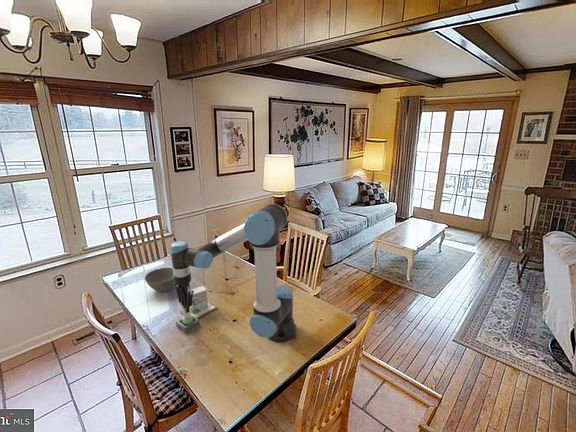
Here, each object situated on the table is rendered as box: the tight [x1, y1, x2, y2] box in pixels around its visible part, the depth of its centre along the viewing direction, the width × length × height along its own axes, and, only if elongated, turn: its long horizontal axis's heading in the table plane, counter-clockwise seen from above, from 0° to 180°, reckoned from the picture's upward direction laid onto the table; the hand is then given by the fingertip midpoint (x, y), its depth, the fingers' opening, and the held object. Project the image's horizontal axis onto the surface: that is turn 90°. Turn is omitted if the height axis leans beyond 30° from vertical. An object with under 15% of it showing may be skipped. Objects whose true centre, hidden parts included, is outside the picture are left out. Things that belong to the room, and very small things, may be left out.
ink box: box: [190, 285, 209, 314], centre depth 158 cm, size 8×5×12 cm, turn 127°
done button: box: [181, 315, 193, 326], centre depth 147 cm, size 5×5×3 cm
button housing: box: [175, 314, 201, 334], centre depth 147 cm, size 8×8×3 cm
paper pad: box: [180, 301, 218, 320], centre depth 160 cm, size 12×15×1 cm
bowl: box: [144, 267, 175, 292], centre depth 178 cm, size 19×19×10 cm
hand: (187, 316), depth 146 cm, fingers closed
